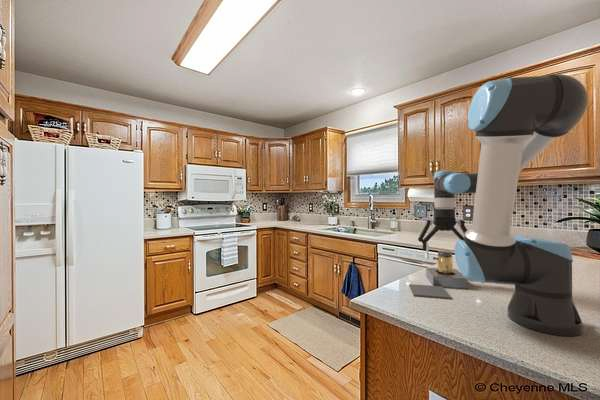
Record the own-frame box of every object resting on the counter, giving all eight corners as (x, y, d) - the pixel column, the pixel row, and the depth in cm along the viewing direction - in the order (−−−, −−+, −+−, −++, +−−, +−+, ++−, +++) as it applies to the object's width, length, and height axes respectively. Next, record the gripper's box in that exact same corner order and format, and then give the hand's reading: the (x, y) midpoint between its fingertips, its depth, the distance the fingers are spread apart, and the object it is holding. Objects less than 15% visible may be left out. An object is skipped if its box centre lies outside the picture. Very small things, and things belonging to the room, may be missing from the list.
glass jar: (454, 284, 105) (453, 253, 105) (440, 283, 106) (439, 253, 106) (450, 280, 110) (450, 251, 110) (436, 280, 111) (436, 250, 111)
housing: (467, 288, 99) (467, 278, 100) (433, 286, 103) (433, 276, 103) (456, 278, 113) (456, 269, 113) (426, 276, 116) (426, 267, 116)
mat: (451, 299, 89) (451, 297, 89) (413, 296, 93) (413, 294, 93) (442, 287, 101) (442, 286, 101) (409, 285, 104) (409, 284, 104)
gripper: (475, 207, 108) (475, 258, 108) (410, 207, 115) (411, 255, 115) (482, 208, 101) (483, 263, 101) (413, 208, 108) (413, 259, 108)
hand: (444, 259), depth 108 cm, fingers open, 13 cm apart
